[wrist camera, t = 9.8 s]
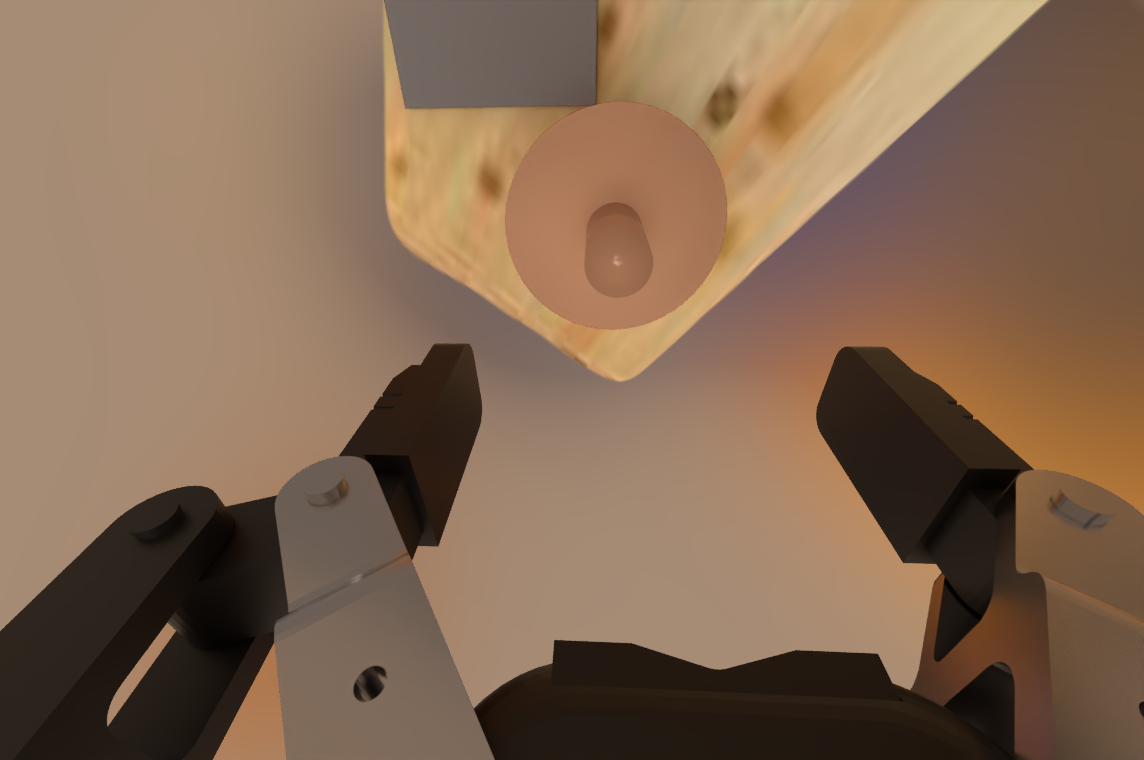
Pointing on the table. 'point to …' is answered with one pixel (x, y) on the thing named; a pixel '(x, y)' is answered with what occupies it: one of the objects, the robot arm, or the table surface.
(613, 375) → the table surface
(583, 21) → the mat
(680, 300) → the lid
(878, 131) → the table surface
